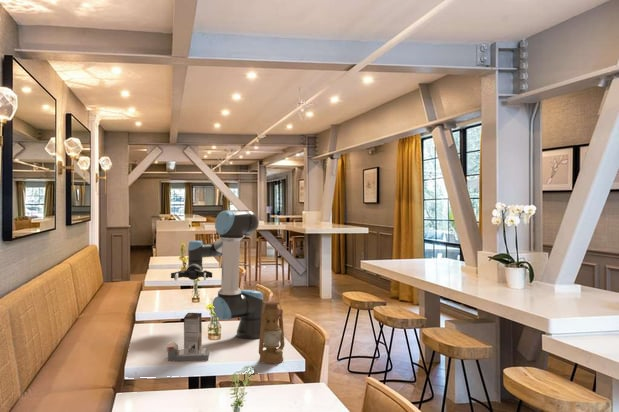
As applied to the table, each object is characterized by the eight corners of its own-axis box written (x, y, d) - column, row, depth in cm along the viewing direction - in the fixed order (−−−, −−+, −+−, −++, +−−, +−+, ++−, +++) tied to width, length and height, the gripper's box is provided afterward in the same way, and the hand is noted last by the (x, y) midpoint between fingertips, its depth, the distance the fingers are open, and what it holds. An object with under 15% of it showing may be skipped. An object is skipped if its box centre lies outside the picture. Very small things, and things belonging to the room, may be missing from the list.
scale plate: (205, 349, 227) (205, 347, 227) (204, 355, 218) (204, 353, 218) (180, 350, 226) (180, 348, 226) (178, 356, 217) (178, 354, 217)
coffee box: (187, 348, 226) (187, 312, 226) (202, 348, 227) (202, 312, 227) (183, 354, 217) (183, 317, 217) (198, 354, 218) (198, 317, 218)
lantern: (274, 367, 209) (274, 295, 209) (252, 364, 213) (252, 293, 213) (289, 357, 223) (289, 289, 223) (268, 354, 227) (268, 287, 227)
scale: (209, 353, 228) (209, 336, 228) (208, 360, 218) (208, 342, 218) (168, 355, 225) (168, 338, 225) (165, 362, 216) (165, 344, 215)
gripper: (217, 278, 268) (216, 284, 247) (169, 279, 264) (163, 285, 243) (217, 264, 268) (216, 269, 247) (169, 265, 264) (163, 270, 243)
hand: (190, 277), depth 245 cm, fingers open, 13 cm apart
